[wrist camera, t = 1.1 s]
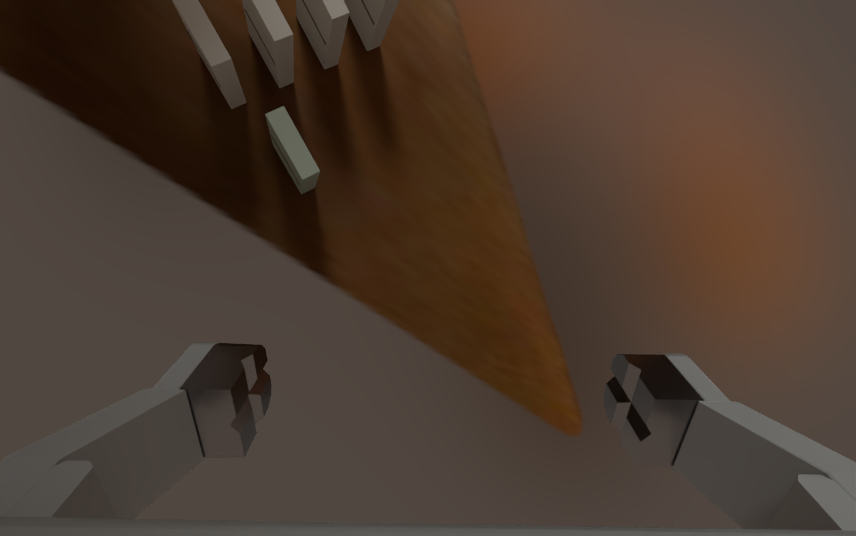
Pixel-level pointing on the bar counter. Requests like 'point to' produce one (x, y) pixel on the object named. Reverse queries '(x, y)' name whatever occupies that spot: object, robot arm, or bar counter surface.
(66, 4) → the bar counter surface
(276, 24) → the domino
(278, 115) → the domino
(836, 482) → the robot arm
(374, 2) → the end domino
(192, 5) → the domino
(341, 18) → the domino
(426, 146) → the bar counter surface
